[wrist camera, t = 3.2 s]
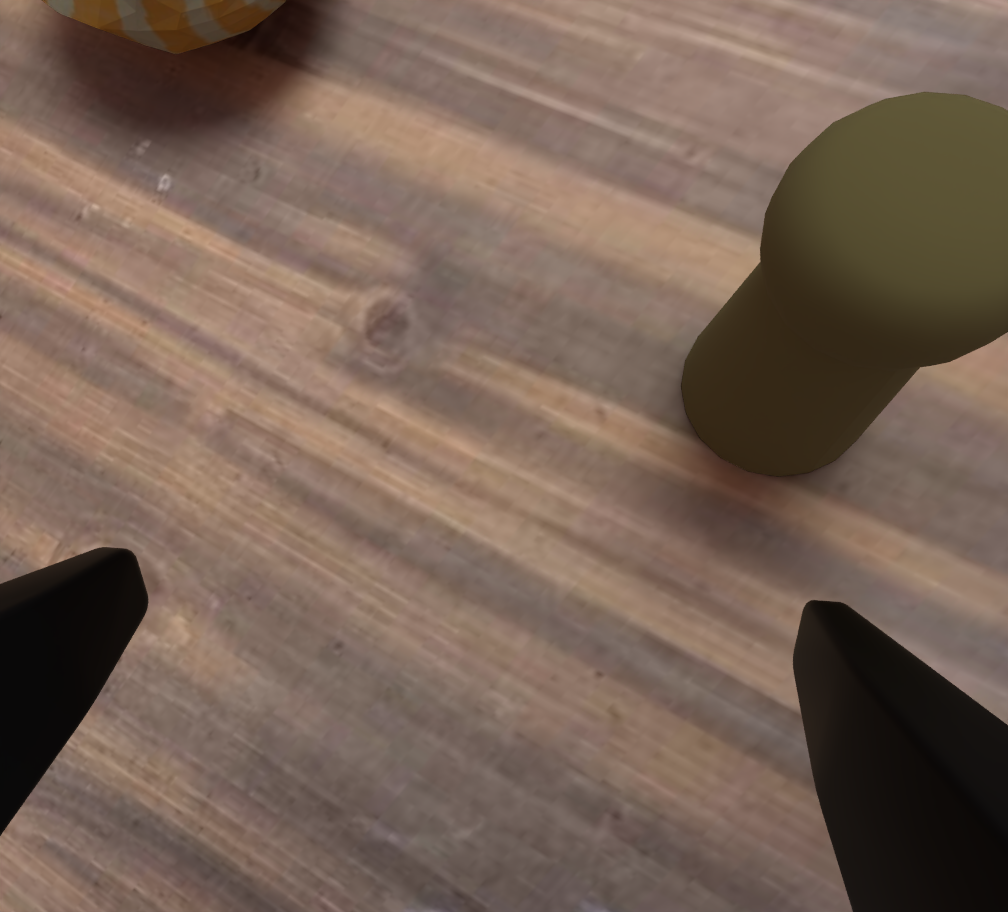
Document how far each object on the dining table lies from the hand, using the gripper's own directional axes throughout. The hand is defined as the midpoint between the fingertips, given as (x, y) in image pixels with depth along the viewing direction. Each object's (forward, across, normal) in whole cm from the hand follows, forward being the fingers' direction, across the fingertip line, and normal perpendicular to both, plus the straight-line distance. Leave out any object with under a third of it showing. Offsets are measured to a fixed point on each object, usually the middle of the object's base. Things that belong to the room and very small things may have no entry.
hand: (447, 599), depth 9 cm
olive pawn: (+15, -8, +2) cm, 17 cm away
